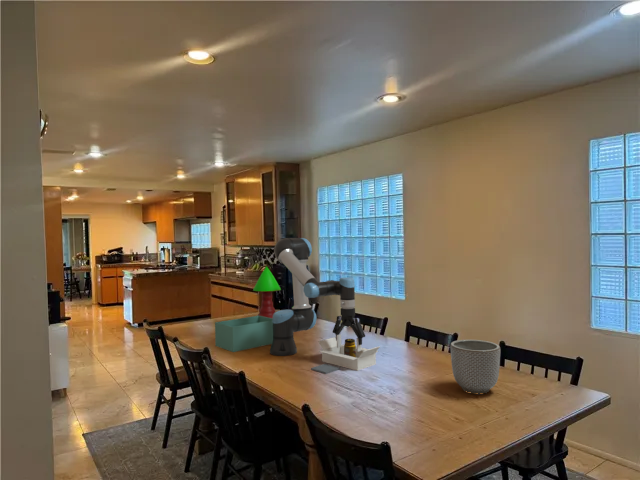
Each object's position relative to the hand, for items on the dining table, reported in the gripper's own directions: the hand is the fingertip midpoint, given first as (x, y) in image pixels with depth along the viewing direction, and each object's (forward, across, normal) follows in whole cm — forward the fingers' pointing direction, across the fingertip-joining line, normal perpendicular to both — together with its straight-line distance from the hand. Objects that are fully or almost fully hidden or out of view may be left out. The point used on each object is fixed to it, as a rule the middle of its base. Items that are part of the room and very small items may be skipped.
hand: (348, 349), depth 228 cm
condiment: (+8, 0, 0) cm, 8 cm away
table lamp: (+6, -98, +24) cm, 101 cm away
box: (+6, -74, -11) cm, 75 cm away
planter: (+9, +66, +5) cm, 66 cm away
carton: (+7, 0, 0) cm, 7 cm away
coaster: (+7, -2, -16) cm, 18 cm away
